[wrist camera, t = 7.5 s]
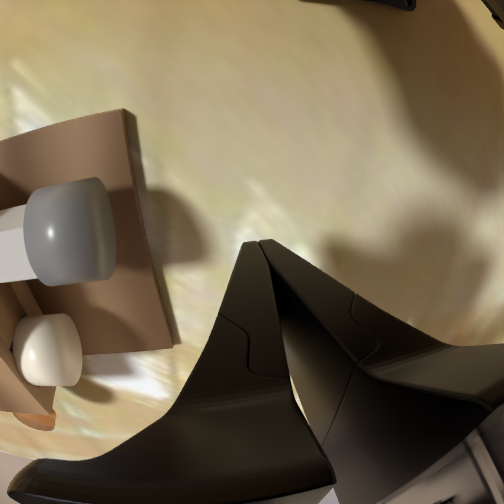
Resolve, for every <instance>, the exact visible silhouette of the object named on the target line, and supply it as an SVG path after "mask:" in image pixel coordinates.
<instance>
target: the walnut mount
mask: <svg viewBox="0 0 504 504" xmlns="http://www.w3.org/2000/svg"><path fill="white" fill-rule="evenodd" d="M91 177H98V178H99V179H100V180H101V181H102V182H103V184H104V186H105V188H106V190H107V193H108V196H109V199H110V203H111V207H112V211H113V217H114V224H115V233H116V262H115V268H114V272H113V274H112V276H111V278H110V279H108V280H101V281H93V282H84V283H76V284H67V285H59V286H47V285H45V284H43V283H42V282H41V281H40V280H39V279H38V278H36V279H28V280H20V281H12V282H4V283H0V411H6V412H15V413H25V414H36V415H50V416H51V410H52V404H53V399H54V394H55V389H56V386H33V385H30V384H29V383H27V382H26V381H25V380H24V379H23V377H22V376H21V374H20V372H19V370H18V368H17V365H16V362H15V358H14V356H13V354H12V353H11V351H10V350H9V349H10V346H11V344H12V341H13V336H14V331H15V328H16V325H17V323H18V322H19V320H20V319H21V318H23V317H25V316H37V315H50V314H66V315H68V316H69V317H70V318H71V319H72V321H73V322H74V324H75V326H76V329H77V331H78V334H79V338H80V342H81V348H82V355H92V354H109V353H124V352H136V351H148V350H159V349H169V348H173V339H172V335H171V332H170V328H169V325H168V321H167V318H166V314H165V311H164V307H163V304H162V300H161V296H160V292H159V289H158V285H157V281H156V277H155V273H154V269H153V265H152V261H151V256H150V252H149V248H148V243H147V239H146V235H145V230H144V225H143V221H142V216H141V211H140V206H139V201H138V196H137V190H136V185H135V180H134V174H133V168H132V162H131V156H130V150H129V143H128V137H127V130H126V122H125V115H124V108H123V109H118V110H113V111H108V112H103V113H98V114H94V115H89V116H85V117H81V118H76V119H72V120H68V121H65V122H61V123H57V124H53V125H50V126H46V127H43V128H39V129H36V130H33V131H29V132H26V133H23V134H20V135H17V136H14V137H11V138H8V139H5V140H2V141H0V211H1V210H5V209H9V208H13V207H17V206H21V205H25V204H27V202H28V200H29V198H30V196H31V194H32V193H33V192H34V191H35V190H37V189H39V188H44V187H48V186H52V185H57V184H61V183H66V182H71V181H76V180H81V179H86V178H91Z"/></svg>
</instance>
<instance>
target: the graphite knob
mask: <svg viewBox="0 0 504 504" xmlns="http://www.w3.org/2000/svg"><path fill="white" fill-rule="evenodd" d="M115 262H116V233H115V224H114V217H113V211H112V207H111V203H110V199H109V196H108V193H107V190H106V188H105V186H104V184H103V182H102V181H101V180H100V179H99V178H98V177H91V178H86V179H81V180H76V181H71V182H66V183H61V184H57V185H52V186H48V187H44V188H39V189H37V190H35V191H34V192H33V193H32V194H31V196H30V198H29V200H28V202H27V204H25V205H21V206H17V207H13V208H9V209H5V210H1V211H0V283H4V282H12V281H20V280H28V279H36V278H38V279H39V280H40V281H41V282H42V283H43V284H45V285H47V286H59V285H67V284H76V283H84V282H93V281H101V280H108V279H110V278H111V276H112V274H113V272H114V268H115Z"/></svg>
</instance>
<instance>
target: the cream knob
mask: <svg viewBox="0 0 504 504" xmlns="http://www.w3.org/2000/svg"><path fill="white" fill-rule="evenodd" d="M9 350H10V351H11V353H12V354H13V356H14V358H15V362H16V365H17V368H18V370H19V372H20V374H21V376H22V377H23V379H24V380H25V381H26V382H27V383H29V384H30V385H33V386H74V385H76V384H77V382H78V381H79V378H80V376H81V371H82V348H81V342H80V338H79V334H78V331H77V329H76V326H75V324H74V322H73V321H72V319H71V318H70V317H69V316H68V315H66V314H50V315H37V316H25V317H23V318H21V319H20V320H19V322H18V323H17V325H16V328H15V331H14V336H13V341H12V344H11V346H10V349H9Z"/></svg>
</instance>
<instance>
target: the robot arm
mask: <svg viewBox="0 0 504 504" xmlns="http://www.w3.org/2000/svg"><path fill="white" fill-rule="evenodd" d="M357 1H362V2H367V3H372V4H376V5H381V6H385V7H389V8H393V9H397V10H400V11H406V12H407V11H413V10H414V9H415V8H416V0H406V1H407V6H406V5H405V3H404V0H357ZM481 1H482V2H483V3H484V4H485V5H486V7H487V8H488V9H489V10H490V12H491V13H492V18H493V19H494V20H495V21H496V23H497V24H498V25H499V26H500V28H502V29H504V0H481ZM289 372H290V373H289ZM290 375H291V378H292V380H293V383H294V386H295V388H296V391H297V393H298V396H299V399H300V401H301V404H302V407H303V409H304V412H305V415H306V417H307V420H308V422H309V424H308V422H307V420H306V419H305V417H304V415H303V413H302V411H301V410H300V408H299V406H298V404H297V402H296V400H295V397H294V394H293V390H292V385H291V381H290ZM309 425H310V426H309ZM332 488H334V490H335V493H336V495H337V498H338V501H339V503H340V504H504V343H503V344H491V345H478V346H454V345H449V344H446V343H443V342H441V341H439V340H437V339H435V338H433V337H431V336H429V335H427V334H425V333H424V332H422V331H420V330H418V329H416V328H414V327H412V326H411V325H409V324H407V323H405V322H403V321H401V320H399V319H398V318H396V317H394V316H392V315H391V314H389V313H387V312H385V311H384V310H382V309H380V308H379V307H377V306H375V305H374V304H372V303H371V302H369V301H367V300H366V299H364V298H363V297H361V296H360V295H358V294H355V292H354V291H352V290H351V289H349V288H348V287H346V286H344V285H343V284H341V283H340V282H338V281H337V280H335V279H334V278H332V277H331V276H329V275H328V274H326V273H325V272H323V271H322V270H320V269H318V268H317V267H315V266H314V265H312V264H311V263H309V262H308V261H306V260H305V259H303V258H301V257H300V256H298V255H297V254H295V253H294V252H292V251H291V250H289V249H287V248H286V247H284V246H283V245H281V244H280V243H278V242H276V241H275V240H273V239H266V240H260V241H258V242H257V241H250V242H244V243H242V246H241V249H240V251H239V254H238V257H237V260H236V263H235V266H234V269H233V272H232V274H231V277H230V280H229V283H228V286H227V289H226V292H225V295H224V298H223V301H222V303H221V306H220V309H219V312H218V316H217V317H216V320H215V323H214V326H213V329H212V331H211V334H210V336H209V339H208V341H207V343H206V345H205V347H204V350H203V352H202V354H201V356H200V358H199V359H198V361H197V363H196V365H195V367H194V368H193V370H192V372H191V374H190V376H189V378H188V379H187V381H186V383H185V385H184V387H183V389H182V390H181V392H180V394H179V396H178V397H177V399H176V401H175V402H174V404H173V405H172V407H171V408H170V409H169V410H168V412H167V413H166V414H165V415H164V416H162V417H161V418H160V419H158V420H157V421H155V422H154V423H152V424H151V425H149V426H148V427H146V428H145V429H143V430H142V431H140V432H139V433H137V434H136V435H134V436H133V437H131V438H130V439H128V440H127V441H125V442H123V443H122V444H120V445H119V446H117V447H116V448H114V449H112V450H111V451H109V452H107V453H105V454H103V455H101V456H98V457H95V458H92V459H87V460H81V461H68V460H59V459H48V458H43V459H36V460H34V461H32V462H31V463H29V464H28V465H27V466H26V467H24V468H23V469H22V470H21V471H19V472H18V473H17V474H16V476H15V477H14V478H13V480H12V481H11V482H10V485H9V487H8V490H7V494H8V496H9V497H10V498H12V499H13V500H15V501H17V502H18V503H20V504H318V503H319V502H320V501H321V500H322V499H323V498H324V497H325V496H326V495H327V493H328V492H329V491H330V490H331V489H332Z"/></svg>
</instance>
